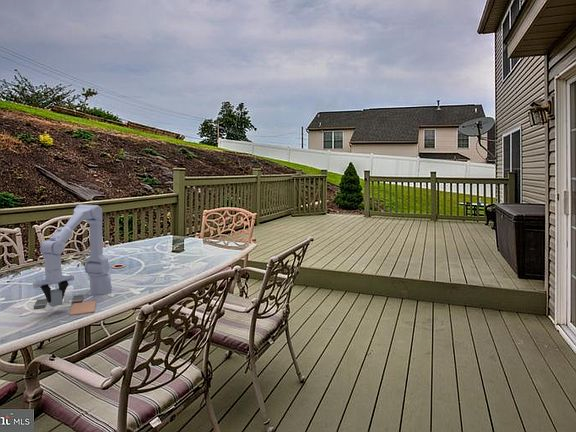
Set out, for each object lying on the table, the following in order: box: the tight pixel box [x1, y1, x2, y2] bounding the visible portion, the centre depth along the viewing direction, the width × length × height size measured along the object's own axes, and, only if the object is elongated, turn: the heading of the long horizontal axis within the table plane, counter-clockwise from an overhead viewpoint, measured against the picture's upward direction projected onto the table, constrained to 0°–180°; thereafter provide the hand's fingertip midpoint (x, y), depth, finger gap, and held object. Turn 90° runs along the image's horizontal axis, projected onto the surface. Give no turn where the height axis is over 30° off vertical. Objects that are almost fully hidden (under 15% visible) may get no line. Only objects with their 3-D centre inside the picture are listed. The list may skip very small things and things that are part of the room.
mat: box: [69, 300, 97, 317], centre depth 154 cm, size 9×13×1 cm
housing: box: [33, 294, 84, 310], centre depth 160 cm, size 18×8×2 cm, turn 116°
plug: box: [47, 288, 64, 308], centre depth 150 cm, size 4×8×6 cm, turn 51°
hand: (55, 300), depth 149 cm, fingers closed on plug, 4 cm apart
